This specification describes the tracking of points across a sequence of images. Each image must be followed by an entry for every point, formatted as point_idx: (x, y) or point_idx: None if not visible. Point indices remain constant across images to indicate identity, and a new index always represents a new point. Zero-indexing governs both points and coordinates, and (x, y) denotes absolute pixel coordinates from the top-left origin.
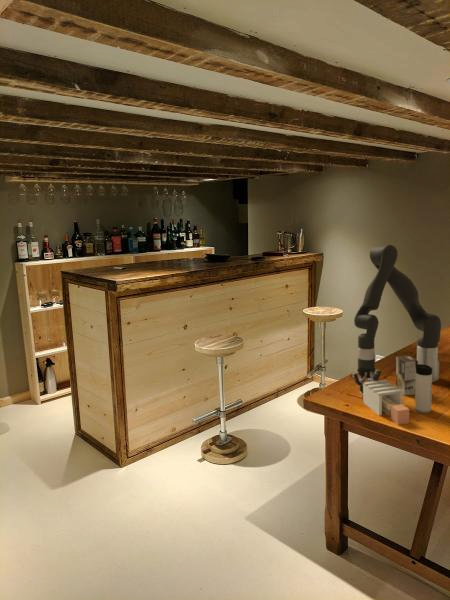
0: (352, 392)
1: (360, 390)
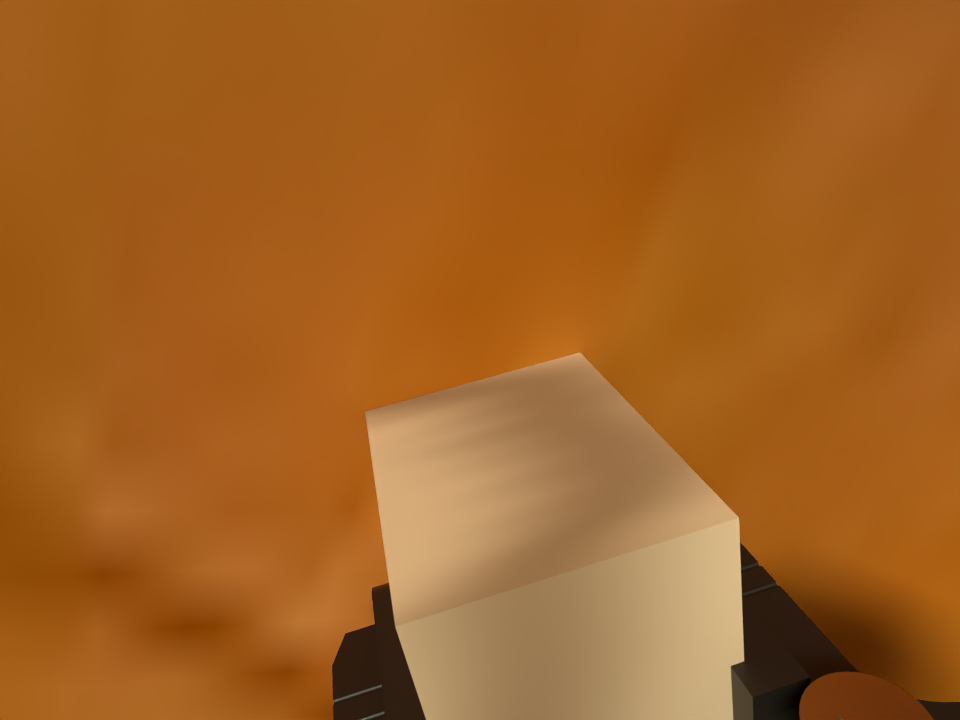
0: (128, 379)
1: (351, 692)
